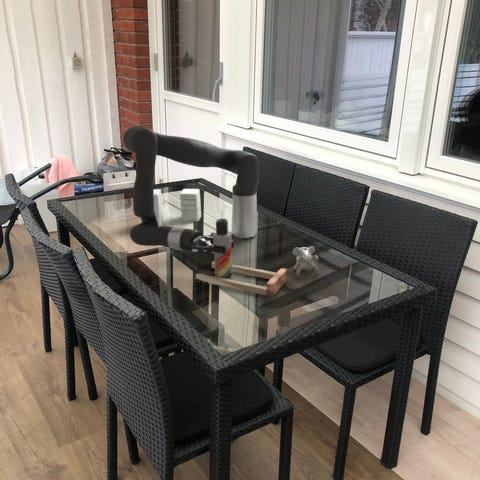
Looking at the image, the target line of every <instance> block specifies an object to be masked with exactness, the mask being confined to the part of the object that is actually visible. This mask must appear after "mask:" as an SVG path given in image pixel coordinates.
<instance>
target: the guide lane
mask: <svg viewBox="0 0 480 480" xmlns="http://www.w3.org/2000/svg"><path fill="white" fill-rule="evenodd" d="M211 269H215V263H214V260H213V261H212V262H211ZM232 273H235V274H240V275H241V274H242V275H246V276H252V277H257V278H262V279H267V280H268V281H267V282H266V286H265V285H264V286H263V285H258V284H253V283H248V282H243V281H239V280H233V279H224V278H219V277H215V275H214V276H213V275H208V274H203V273H199V272H198V273H196V274H195V280H196V279H199V280H201V281H204V282H203V283H205V282H208V283H207V284H210V283H211V285H216V286H219V287H224V288H225V287H226V288H229V289H234V290H239V291H243V292H248V293H252V294H258V295H263V296H268V297H274V295H276V293H277V292H278V291H279V290H280V289H281V288H282V287H283V285H284V284H285V283H286V282H287V281H288V268H284V267H283V268H282V267H281V268H280V269H279V270H277V272H275V271H274V272H273V271H270V270H265V269H257V268H253V267H249V266H242V265H237V264H233V263H232Z"/></svg>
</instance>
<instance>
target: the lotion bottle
mask: <svg viewBox="0 0 480 480" xmlns="http://www.w3.org/2000/svg"><path fill="white" fill-rule="evenodd" d="M215 231H216V232H213V233H214V235H213V239H214V241H213V244H214V245H216V246H224V247H226V253H225V254H222V253H217V252H215V253H213V258H214V260H213V261H214V263H215V268H214V277H219V278H224V279H229V280H231V279H232V278H233V272H232V264H233V256H232V255H233V254H232V253H233V251H232V250H233V248H232V246H231V241H232V234H231V232H230V231H229V221H228V220H227V219H226V218H218V219H217V220H216V221H215Z"/></svg>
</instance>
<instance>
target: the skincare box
mask: <svg viewBox="0 0 480 480" xmlns="http://www.w3.org/2000/svg"><path fill="white" fill-rule="evenodd" d="M162 201H163V200H162V190H161V188H160V189H156V188H155V189H154V212H155V215H156V218H157V222H158V226H159V227H160V226H163V222H164V219H163V218H164V215H163V203H162Z"/></svg>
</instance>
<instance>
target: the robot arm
mask: <svg viewBox="0 0 480 480" xmlns="http://www.w3.org/2000/svg"><path fill="white" fill-rule="evenodd" d="M122 142H123V145H124V146H125V148H126V150H128V151H129V152H130V153H132V154H134V156H135V162H136V175H135V179H134V183H133V187H132V188H133V189H132V206H133V208H132V210H133V215H134V216H135V217H138V218H140V220H141V223H137V224H136V225H133V226H132V227H131V229H130V231H129V237H130V238H129V239H130V240H131V241H132V242H133V243H134V244H136V245H138V246H145V247H157V246H159V247H165V248H171V249H174V250H177V251H181V252H188V253H192V255H207V256H209V255H210V256H211V254H214V253H215V252H217V253H222V254H225V253H226V247H224V246H216V245H214V239H213V235H214V233H215V232H211V233H210V235H208V234H207V235H202V233H201V232H200V231H199V230H197V229H193V228H192V229H191V228H185V227H173V226H168V225H161V226H160V227H159V226H158V222H157V218H156V215H155V212H154V186H155V185H154V184H155V171H156V161H157V156H159V157H163V158H166V159H168V160H171V161H174V162H176V163H180V164H184V165H187V166H192V167H198V168H218V169H222V170H224V171H228V172H230V173H233V174H235V175H237V183H235V184H234V185H233V186H232V191H231V192H232V210H233V211H232V215H233V218H232V219H233V236H234V237H235V238H237V237H238V239H243V238H247V239H250V238H249V237H252V236H254V235H255V234H256V233H257V234H258V210H257V207H258V206H257V204H258V203H257V189H258V187H259V183H260V182H259V181H260V180H259V179H260V178H259V176H260V175H259V174H260V164H259V159H258V157H257V156H256V154H254V153H251V152H249V151H245V150H240V149H228V148H223V147H220V146H219V147H218V146H217V145H214V144H212V143H209V142H206V141H203V140H200V139H194V138H191V137H183V136H175V135H168V134H161V133H158V132H155V131H154V130H153V129H150V128H148V127H145V126H144V127H143V126H140V125H135V126H132V127H129V128H128V129H127V130H126V131H125V132H124V133H123V136H122ZM231 246H232V249H233V248H234V247H235V241H234V240H231Z"/></svg>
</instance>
